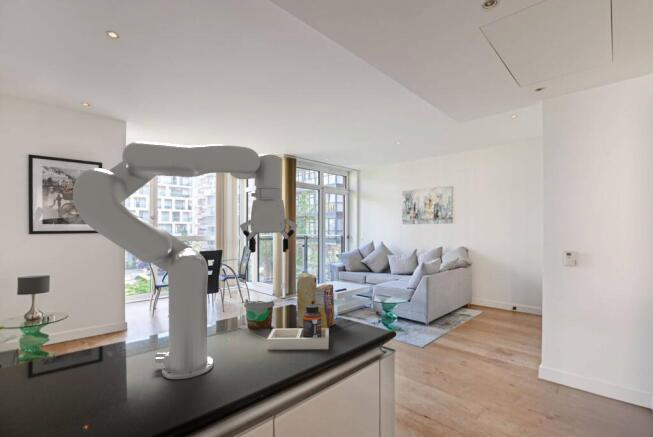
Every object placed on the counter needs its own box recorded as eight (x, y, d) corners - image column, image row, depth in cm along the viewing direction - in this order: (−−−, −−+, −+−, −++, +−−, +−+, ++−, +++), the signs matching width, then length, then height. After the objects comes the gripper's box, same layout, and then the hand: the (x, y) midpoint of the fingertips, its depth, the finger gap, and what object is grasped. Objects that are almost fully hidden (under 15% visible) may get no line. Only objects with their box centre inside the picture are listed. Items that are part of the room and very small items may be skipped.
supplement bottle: (320, 344, 98) (320, 308, 98) (301, 344, 99) (301, 307, 99) (322, 337, 104) (322, 303, 104) (305, 337, 104) (304, 303, 105)
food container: (237, 329, 117) (237, 302, 117) (246, 324, 122) (246, 298, 123) (267, 332, 113) (267, 304, 113) (274, 326, 119) (274, 300, 119)
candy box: (324, 322, 123) (324, 283, 124) (334, 323, 121) (334, 284, 122) (314, 329, 115) (314, 287, 116) (325, 330, 113) (324, 288, 114)
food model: (321, 326, 118) (321, 273, 119) (308, 330, 114) (307, 275, 114) (305, 321, 125) (305, 271, 126) (292, 325, 121) (291, 273, 121)
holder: (267, 349, 97) (267, 339, 97) (273, 338, 107) (273, 328, 107) (328, 349, 96) (328, 338, 96) (328, 337, 106) (328, 328, 106)
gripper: (236, 195, 91) (236, 253, 91) (295, 194, 91) (296, 252, 91) (243, 197, 99) (244, 251, 98) (298, 196, 99) (298, 250, 98)
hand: (269, 252), depth 94 cm, fingers open, 9 cm apart
